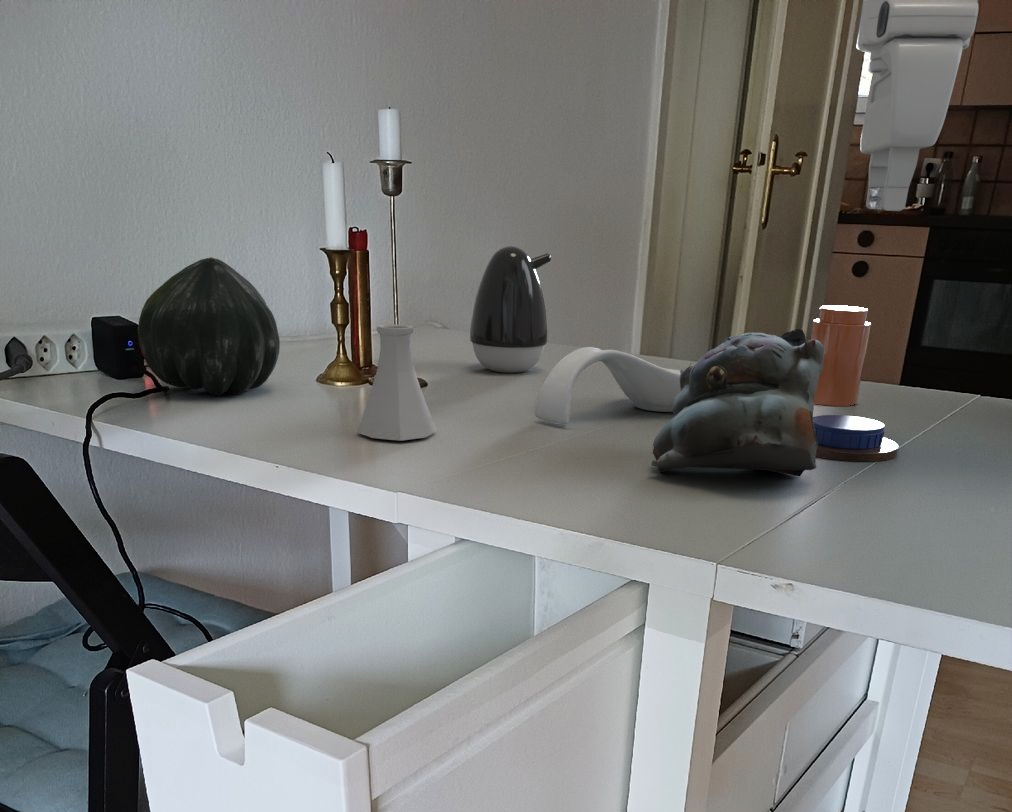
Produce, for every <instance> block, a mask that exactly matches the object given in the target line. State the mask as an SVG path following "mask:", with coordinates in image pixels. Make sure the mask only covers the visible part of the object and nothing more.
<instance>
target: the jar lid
mask: <svg viewBox="0 0 1012 812" xmlns="http://www.w3.org/2000/svg"><path fill="white" fill-rule="evenodd" d="M813 423H814V429H815V433H816V437H817V444H820V445H824V446H829V447H836V448H845V449H870V448H876V447H879V446H880V445H881V444H882V442H883V438H884V436H885V424H884V423H883V422H881V421H878V420H875V419H872V418H866V417H861V416H853V415H844V414H843V415H842V414H824V415H823V414H822V415H816V416H813Z"/></svg>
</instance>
